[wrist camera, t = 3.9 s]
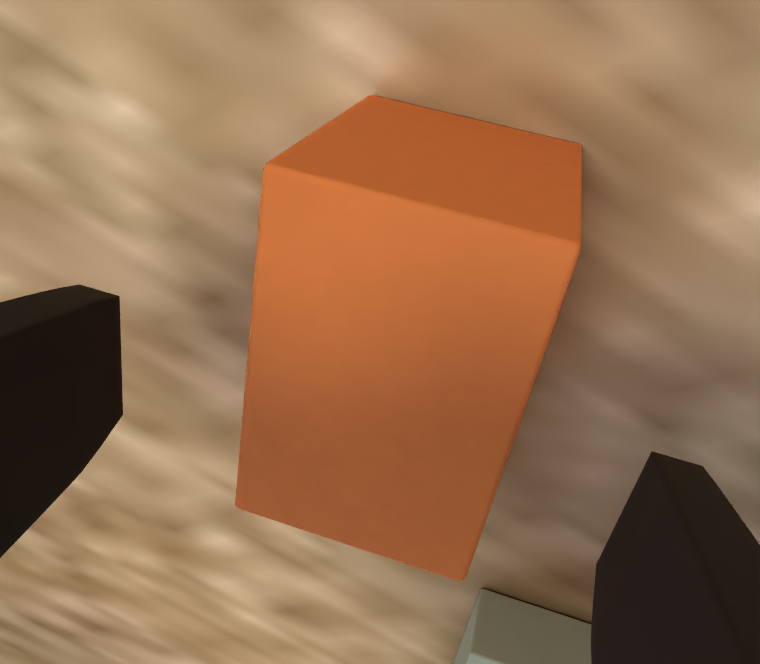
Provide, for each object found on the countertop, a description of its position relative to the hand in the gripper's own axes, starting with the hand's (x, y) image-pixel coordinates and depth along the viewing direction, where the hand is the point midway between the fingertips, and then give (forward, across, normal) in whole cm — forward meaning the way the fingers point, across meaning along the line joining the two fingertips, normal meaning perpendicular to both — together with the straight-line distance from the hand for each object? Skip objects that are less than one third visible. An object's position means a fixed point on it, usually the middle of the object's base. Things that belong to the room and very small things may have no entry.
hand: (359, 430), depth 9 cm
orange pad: (+6, 0, +2) cm, 6 cm away
